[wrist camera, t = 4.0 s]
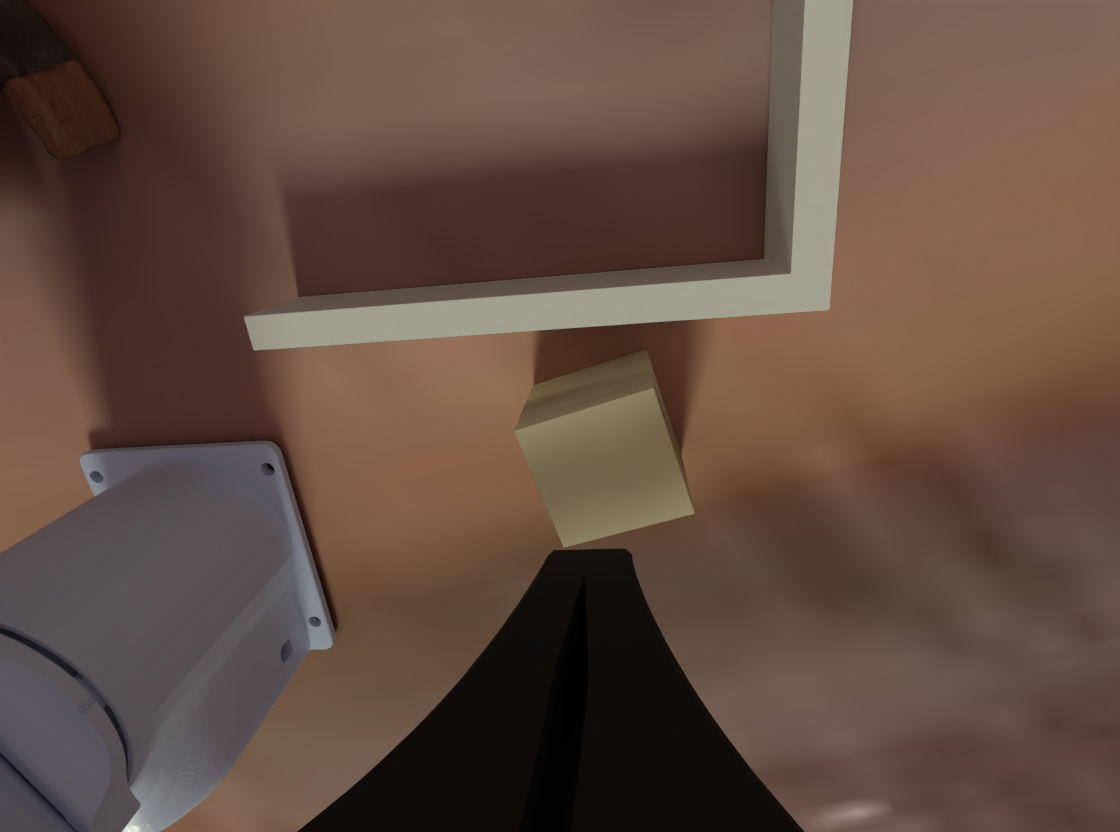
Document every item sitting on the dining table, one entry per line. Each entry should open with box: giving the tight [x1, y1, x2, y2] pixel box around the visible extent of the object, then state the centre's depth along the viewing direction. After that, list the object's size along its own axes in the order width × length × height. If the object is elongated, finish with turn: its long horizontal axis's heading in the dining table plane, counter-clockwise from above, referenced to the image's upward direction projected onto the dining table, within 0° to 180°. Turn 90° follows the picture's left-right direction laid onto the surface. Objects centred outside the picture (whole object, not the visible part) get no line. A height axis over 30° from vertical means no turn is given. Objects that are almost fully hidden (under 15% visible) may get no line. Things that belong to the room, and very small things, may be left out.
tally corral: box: [244, 0, 853, 350], centre depth 14 cm, size 16×16×3 cm
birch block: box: [514, 348, 695, 547], centre depth 18 cm, size 4×4×4 cm
